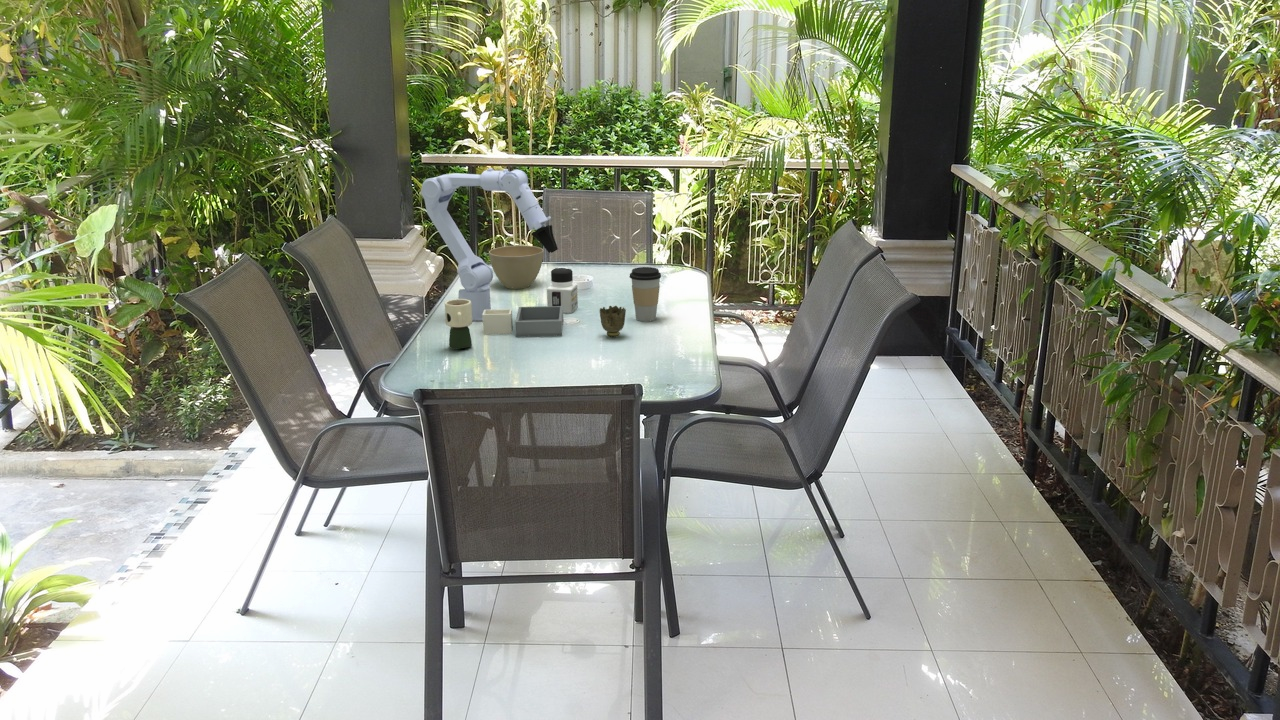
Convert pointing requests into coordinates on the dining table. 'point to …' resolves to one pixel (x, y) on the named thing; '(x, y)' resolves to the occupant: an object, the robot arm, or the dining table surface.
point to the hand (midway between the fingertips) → (553, 251)
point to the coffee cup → (645, 292)
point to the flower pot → (516, 265)
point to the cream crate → (497, 321)
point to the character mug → (459, 322)
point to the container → (562, 290)
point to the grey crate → (539, 321)
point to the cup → (612, 320)
